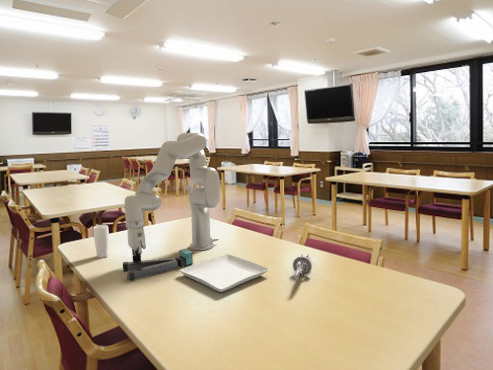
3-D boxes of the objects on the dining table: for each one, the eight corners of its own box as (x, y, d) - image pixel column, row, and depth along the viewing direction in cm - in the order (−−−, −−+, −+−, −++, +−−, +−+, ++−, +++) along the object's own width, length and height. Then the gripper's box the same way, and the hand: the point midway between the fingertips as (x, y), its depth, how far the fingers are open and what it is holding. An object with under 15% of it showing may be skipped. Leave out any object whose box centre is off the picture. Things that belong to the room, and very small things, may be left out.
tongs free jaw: (173, 263, 159) (173, 257, 159) (173, 265, 156) (173, 259, 156) (123, 268, 153) (123, 262, 153) (123, 271, 151) (122, 264, 150)
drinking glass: (104, 259, 166) (102, 228, 164) (92, 258, 168) (89, 228, 166) (112, 254, 173) (111, 225, 171) (100, 253, 174) (98, 224, 172)
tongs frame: (187, 261, 163) (187, 254, 162) (193, 264, 158) (193, 257, 158) (125, 277, 145) (124, 269, 145) (129, 281, 141) (129, 273, 140)
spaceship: (281, 270, 130) (300, 264, 128) (296, 250, 163) (313, 245, 161) (288, 291, 129) (308, 285, 127) (302, 267, 163) (319, 262, 160)
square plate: (227, 260, 164) (227, 252, 164) (270, 277, 145) (270, 268, 144) (178, 277, 145) (178, 268, 145) (221, 298, 126) (220, 288, 126)
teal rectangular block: (185, 259, 163) (185, 248, 162) (192, 263, 157) (192, 252, 157) (179, 260, 161) (179, 250, 160) (186, 264, 156) (186, 253, 155)
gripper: (149, 225, 150) (151, 266, 152) (137, 219, 162) (139, 257, 164) (132, 228, 145) (134, 270, 148) (120, 221, 157) (123, 260, 160)
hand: (137, 263), depth 156 cm, fingers closed
